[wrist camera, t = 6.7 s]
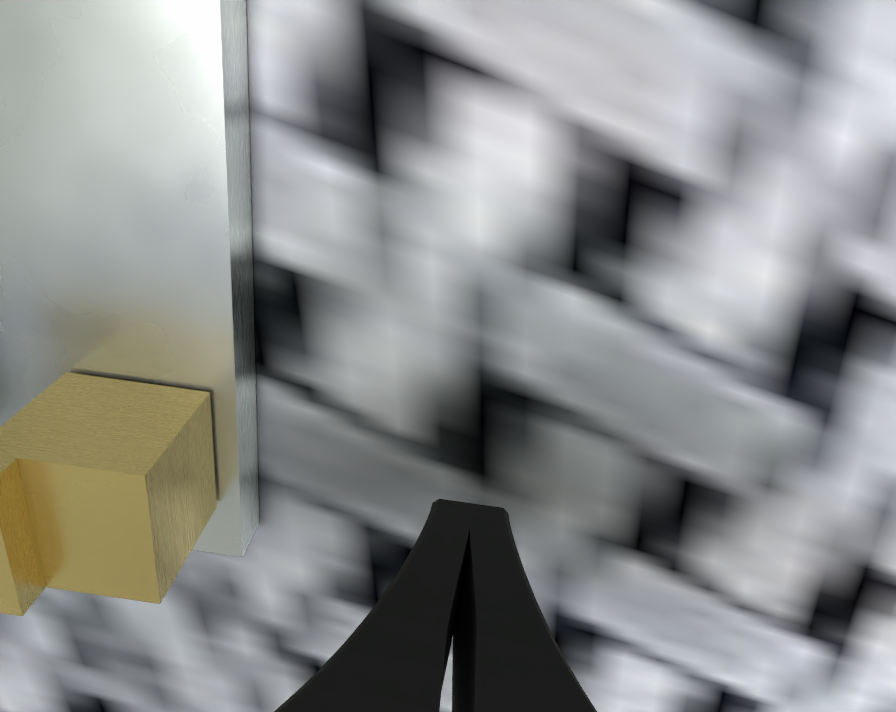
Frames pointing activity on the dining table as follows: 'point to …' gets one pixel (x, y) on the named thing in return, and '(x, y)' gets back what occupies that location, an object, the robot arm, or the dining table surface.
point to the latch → (103, 489)
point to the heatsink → (132, 215)
